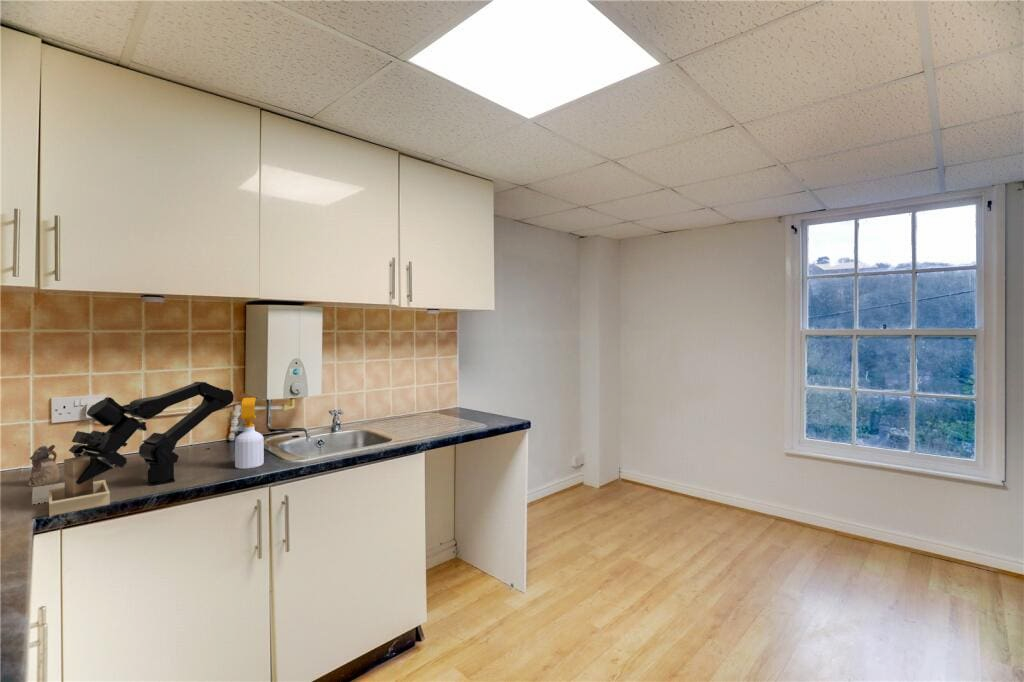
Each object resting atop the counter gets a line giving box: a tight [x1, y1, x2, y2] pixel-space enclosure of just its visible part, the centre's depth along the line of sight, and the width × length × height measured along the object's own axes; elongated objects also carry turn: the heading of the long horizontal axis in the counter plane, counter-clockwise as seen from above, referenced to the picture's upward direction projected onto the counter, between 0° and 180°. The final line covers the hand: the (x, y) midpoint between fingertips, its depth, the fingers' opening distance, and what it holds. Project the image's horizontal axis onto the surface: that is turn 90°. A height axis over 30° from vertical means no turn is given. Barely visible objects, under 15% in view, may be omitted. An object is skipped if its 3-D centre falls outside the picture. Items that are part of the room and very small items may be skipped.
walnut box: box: [63, 456, 94, 499], centre depth 133 cm, size 4×4×13 cm
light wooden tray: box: [48, 479, 111, 517], centre depth 133 cm, size 12×15×4 cm
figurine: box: [28, 444, 61, 487], centre depth 151 cm, size 7×7×12 cm
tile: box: [31, 481, 65, 506], centre depth 141 cm, size 10×14×2 cm
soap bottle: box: [234, 397, 265, 470], centre depth 171 cm, size 9×9×25 cm
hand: (72, 482), depth 132 cm, fingers closed on walnut box, 4 cm apart
